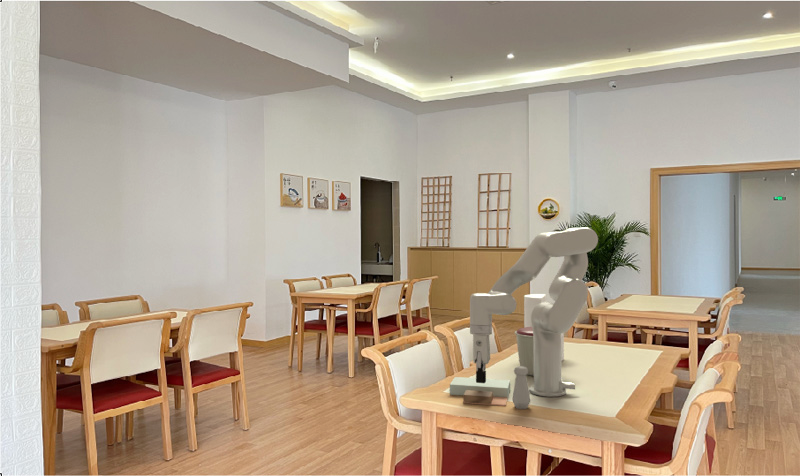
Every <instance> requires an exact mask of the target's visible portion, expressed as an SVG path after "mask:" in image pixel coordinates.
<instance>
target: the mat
mask: <svg viewBox="0 0 800 476" xmlns="http://www.w3.org/2000/svg"><path fill="white" fill-rule="evenodd" d="M508 399H509V397H508V398H507V397H493V400H492V402H491V404H483V403H469V402H463V401H462V404H471V405H472V404H473V405H487V406H498V407H499V406H502V407H507V403H508Z"/></svg>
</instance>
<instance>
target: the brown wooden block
mask: <svg viewBox="0 0 800 476" xmlns="http://www.w3.org/2000/svg"><path fill="white" fill-rule="evenodd" d="M462 396H463V401H462V403H463V402H469V403H468V404H470V403H483V404H482V405H484V404H491V402H492V400H493V392H487V391H473V390H466V391H465V393H464V395H462Z"/></svg>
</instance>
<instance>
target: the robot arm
mask: <svg viewBox="0 0 800 476" xmlns="http://www.w3.org/2000/svg"><path fill="white" fill-rule="evenodd" d="M598 243H599V236H598V235H597V233H596V231H595V230H593V228H590V227H570V228H569V227H568V228H566V229H564V230H563V231H555V232H553V231H552V232H551V231H550V232H541V233H538V234H537V235H535V237H534V238H533V239H532V241H531V242H530V244H529V245H528V246H527V247H526V249H525V251H523V253H522V254H521V256H520V257H519V259H518V260H517V261H516V262H515V263H514V264H513V265H512V266H511V267H510V268H509V269H508V270H507V271H506V272H504V273H503V274H502V275H501V276H500V277H499V278H498V279H497V280H496V281H495V283H494V284H493V286H492V287H491V288H490V290H489V291H488V292H487V293H485V292H476V293H471V295H470V297H469V333H470V335H473V336H472V360H473V361H472V362H473V364H475V366H476V367H475V370H476V371H475V378H476V383H485V382H486V379H487V371H486V369H487V367H486V366H487V365H489V363H490V361H491V339H490V335H493V315H498V316H508V315H510V314H513V313H515V310H516V309H517V301H516V298H515V297H514V296H513V293H514V292H515V291H516V290H518V289H519V288H520V287H522V286H523V285H525V284H527V283H530V282H532V281H533V280H535V279H536V278H537V277H538V275H539V274H540V273H541V271H543V268H544V267H545V266H546V265H547V263H548V262H549V261H550V259H551V258H561V257H563V261H562V264H561V266H560V268H559V269H558V272H557V274H556V275H555V277H554V278H553V279H552V282H551V283H550V285H549V288H548V295H549V297H550V298H551V300H553V301H554V303H552V302H548V301H546V302H543V303H539V304H538V305H536V306H535V307H534V309H533V311H532V314H531V322H532V328H533V339H534V376H533V385H530V386H529V387H528V389H529V393H531V394H532V395H536V396H540V397H549V398H550V397H551V398H553V397H554V398H555V397H561V396H564V395H566V394H567V390H576V384H575V383H572V382H566V381H564V380H563V378H562V361H561V336H560V334H562V333H564V334H565V333H567V332H568V331H569V330H570V329H571V328H572V327H573V326H574V324H575V321H576V320H577V318H578V317H579V315H580V313H581V311H582V310H583V307H584V306H585V304H586V302H587V300H588V296H589V295H588V294H589V292H588V287H587V285H586V283H585V282H584V281H583V279H584V276H585V274H586V273H587V271H588V267H589V258H588V254H587V253H589V252H591V251H593V250H594V249H595V248H596V247H597V245H598Z"/></svg>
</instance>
